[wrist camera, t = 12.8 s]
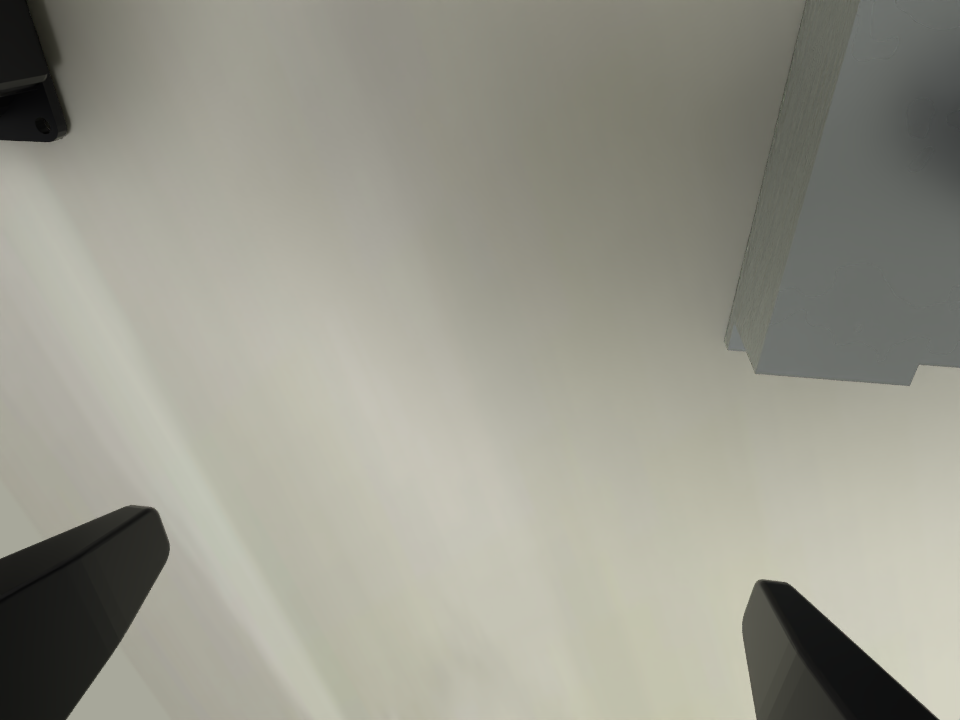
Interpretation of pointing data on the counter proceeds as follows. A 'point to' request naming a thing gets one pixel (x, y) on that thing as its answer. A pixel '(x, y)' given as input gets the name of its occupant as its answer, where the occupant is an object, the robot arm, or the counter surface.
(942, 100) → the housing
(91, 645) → the robot arm
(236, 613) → the counter surface
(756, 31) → the counter surface
